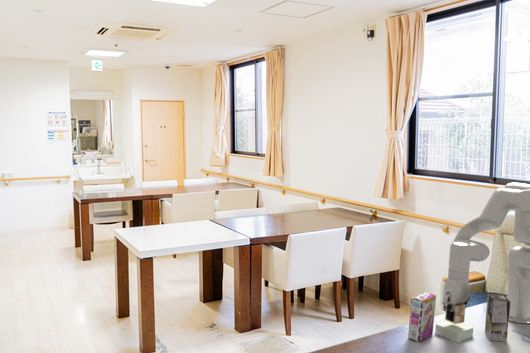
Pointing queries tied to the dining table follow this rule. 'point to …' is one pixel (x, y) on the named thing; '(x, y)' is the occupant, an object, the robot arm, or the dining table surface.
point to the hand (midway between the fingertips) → (454, 318)
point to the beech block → (458, 313)
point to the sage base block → (454, 331)
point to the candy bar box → (421, 316)
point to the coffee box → (497, 317)
